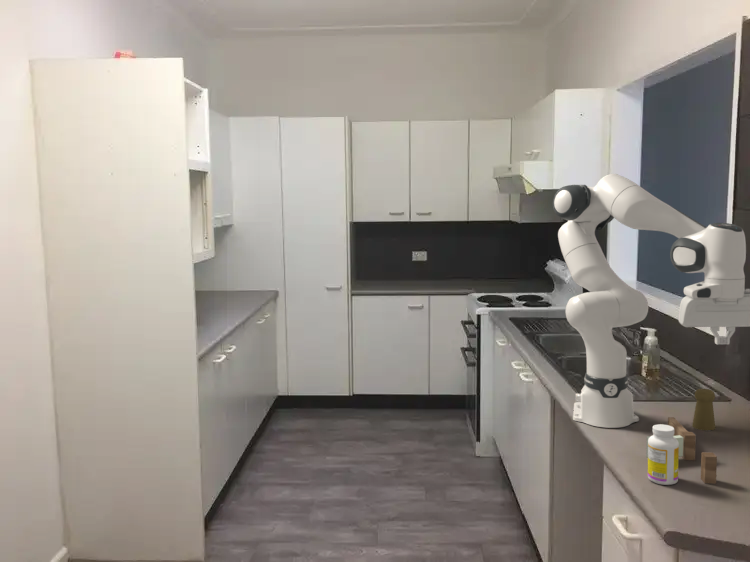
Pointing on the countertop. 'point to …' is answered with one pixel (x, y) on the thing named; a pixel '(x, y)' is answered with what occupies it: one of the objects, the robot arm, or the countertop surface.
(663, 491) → the countertop surface
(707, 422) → the cork
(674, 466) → the supplement bottle
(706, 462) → the fence
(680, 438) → the pale green flat block
